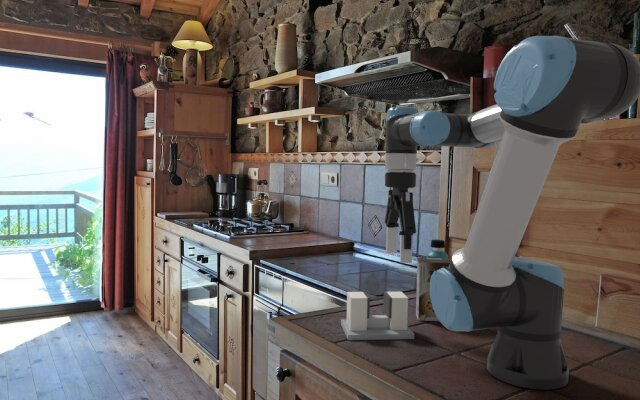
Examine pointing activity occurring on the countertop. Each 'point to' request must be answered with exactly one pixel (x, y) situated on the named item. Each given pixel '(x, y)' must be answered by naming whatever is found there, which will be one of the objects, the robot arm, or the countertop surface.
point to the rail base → (376, 333)
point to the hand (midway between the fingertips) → (398, 257)
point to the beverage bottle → (435, 252)
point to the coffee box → (427, 286)
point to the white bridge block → (396, 309)
